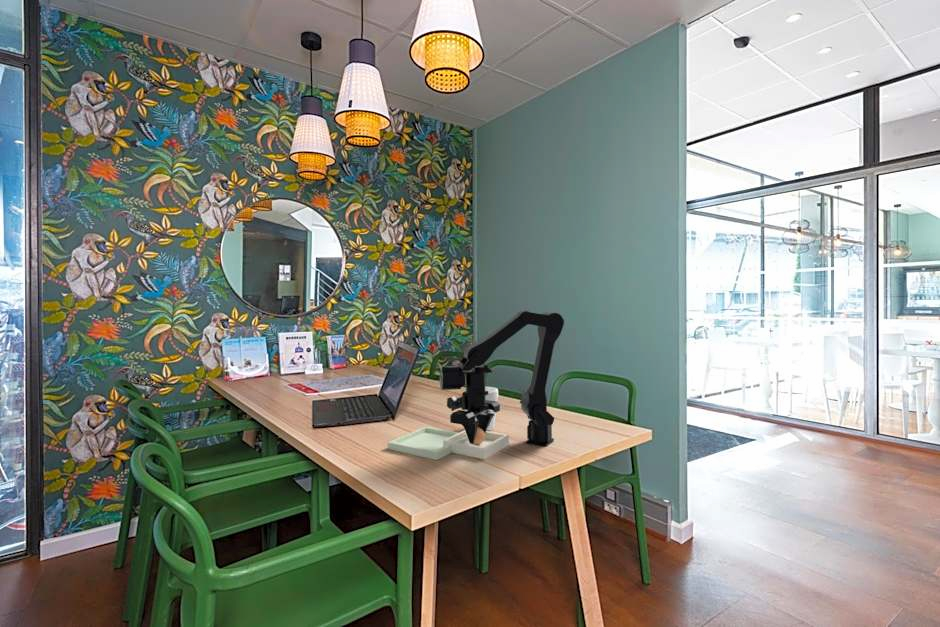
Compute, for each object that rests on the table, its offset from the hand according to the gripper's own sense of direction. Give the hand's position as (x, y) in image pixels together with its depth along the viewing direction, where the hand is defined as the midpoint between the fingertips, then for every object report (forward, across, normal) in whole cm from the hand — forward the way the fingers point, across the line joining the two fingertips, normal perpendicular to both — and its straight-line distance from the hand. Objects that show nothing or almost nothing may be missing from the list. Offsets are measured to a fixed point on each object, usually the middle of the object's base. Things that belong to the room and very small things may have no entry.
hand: (476, 440), depth 132 cm
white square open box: (+2, 0, 0) cm, 2 cm away
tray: (+2, +5, -13) cm, 14 cm away
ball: (-2, 0, 0) cm, 2 cm away
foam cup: (+2, -18, -8) cm, 20 cm away
